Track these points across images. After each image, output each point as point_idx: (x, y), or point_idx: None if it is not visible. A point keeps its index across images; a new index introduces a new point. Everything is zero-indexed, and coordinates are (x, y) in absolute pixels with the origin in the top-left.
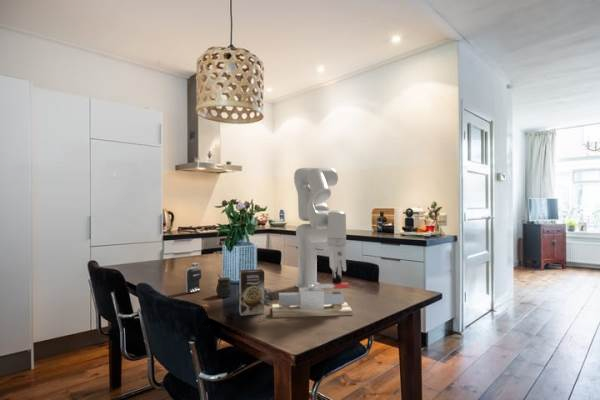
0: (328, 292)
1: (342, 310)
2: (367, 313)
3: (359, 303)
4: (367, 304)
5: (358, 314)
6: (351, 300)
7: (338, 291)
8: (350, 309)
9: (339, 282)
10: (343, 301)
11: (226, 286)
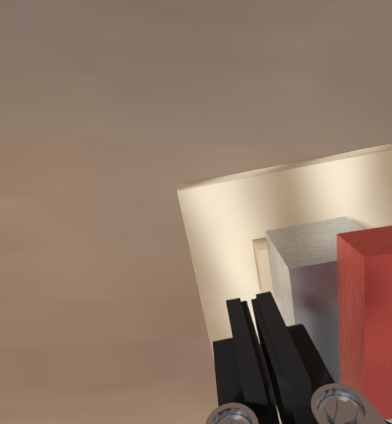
0: (336, 378)
1: (388, 218)
2: (360, 30)
3: (97, 76)
4: (115, 5)
5: (379, 103)
6: (22, 139)
7: (301, 299)
8: (370, 162)
9: (318, 354)
10: (356, 227)
11: None
